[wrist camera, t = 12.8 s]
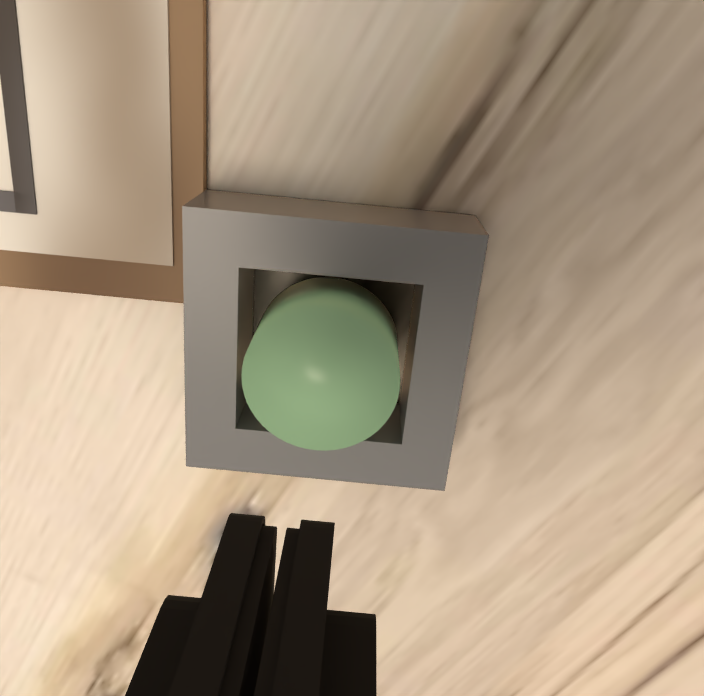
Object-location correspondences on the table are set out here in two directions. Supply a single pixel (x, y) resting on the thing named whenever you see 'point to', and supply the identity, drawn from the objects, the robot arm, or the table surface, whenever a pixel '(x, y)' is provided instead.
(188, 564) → the table surface
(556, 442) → the table surface
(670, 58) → the table surface
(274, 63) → the table surface
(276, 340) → the button
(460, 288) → the button housing
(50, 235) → the brown bordered board
